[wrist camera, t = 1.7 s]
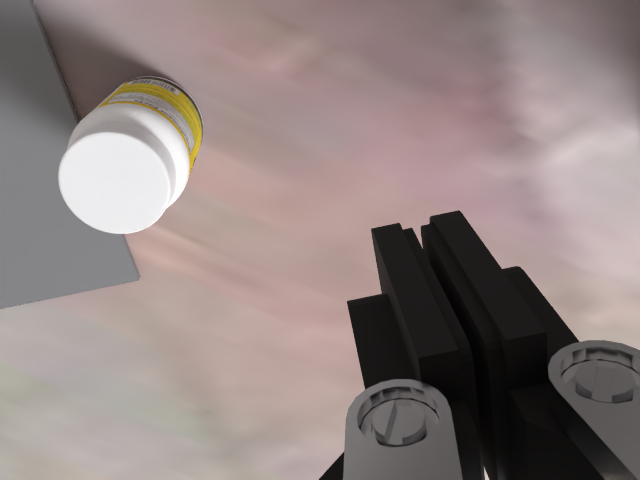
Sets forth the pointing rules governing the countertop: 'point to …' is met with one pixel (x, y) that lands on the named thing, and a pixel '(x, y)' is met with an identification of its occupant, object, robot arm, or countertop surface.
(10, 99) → the mat
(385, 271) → the robot arm
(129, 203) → the supplement bottle
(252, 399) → the countertop surface
